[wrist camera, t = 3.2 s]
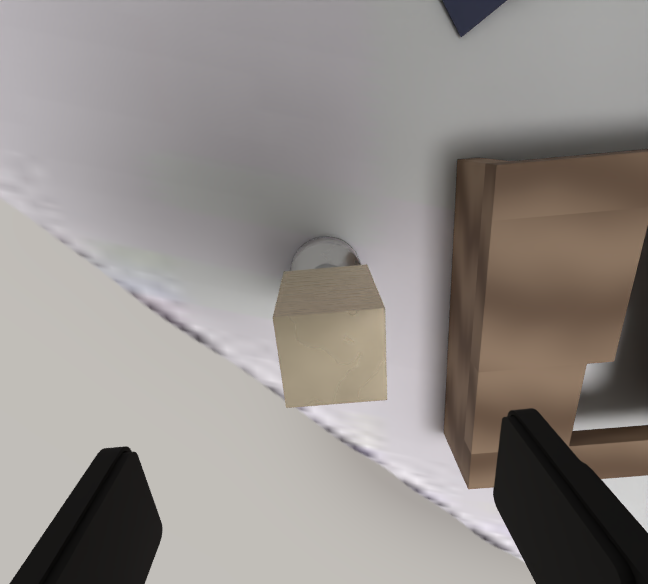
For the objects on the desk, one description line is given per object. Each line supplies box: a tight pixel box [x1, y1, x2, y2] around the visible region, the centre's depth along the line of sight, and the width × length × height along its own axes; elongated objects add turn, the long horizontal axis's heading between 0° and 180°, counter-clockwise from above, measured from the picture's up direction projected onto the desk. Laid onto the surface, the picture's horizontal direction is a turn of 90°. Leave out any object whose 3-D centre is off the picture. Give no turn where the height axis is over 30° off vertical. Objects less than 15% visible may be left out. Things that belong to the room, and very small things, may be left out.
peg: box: [273, 237, 387, 408], centre depth 19 cm, size 4×4×10 cm
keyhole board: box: [444, 149, 648, 489], centre depth 23 cm, size 20×18×5 cm
